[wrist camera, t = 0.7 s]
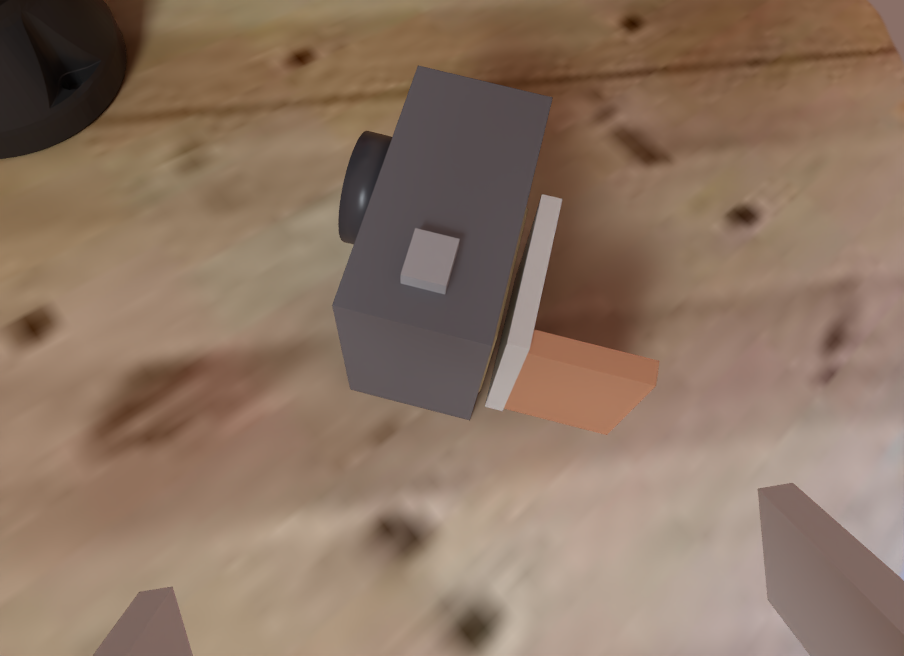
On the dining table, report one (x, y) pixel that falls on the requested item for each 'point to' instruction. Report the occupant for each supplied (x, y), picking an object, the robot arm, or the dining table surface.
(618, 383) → the side door
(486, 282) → the camera housing
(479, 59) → the dining table surface
